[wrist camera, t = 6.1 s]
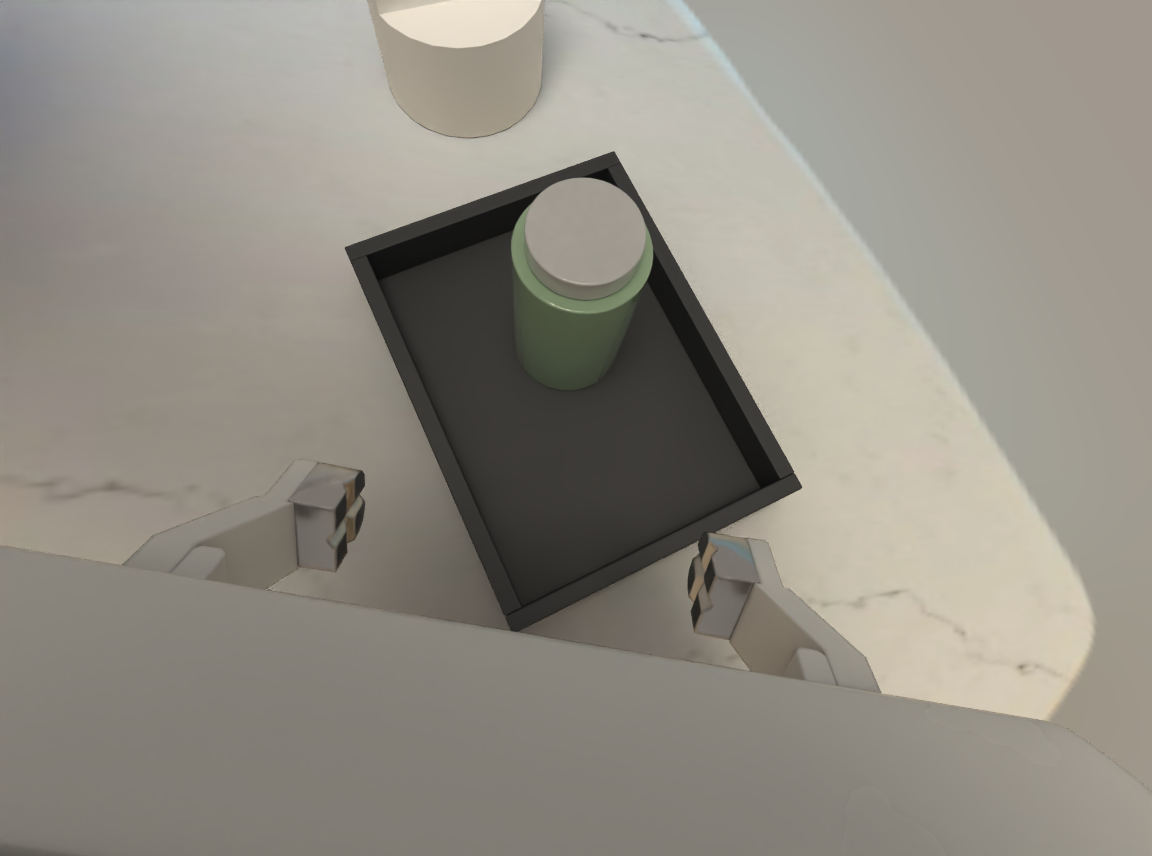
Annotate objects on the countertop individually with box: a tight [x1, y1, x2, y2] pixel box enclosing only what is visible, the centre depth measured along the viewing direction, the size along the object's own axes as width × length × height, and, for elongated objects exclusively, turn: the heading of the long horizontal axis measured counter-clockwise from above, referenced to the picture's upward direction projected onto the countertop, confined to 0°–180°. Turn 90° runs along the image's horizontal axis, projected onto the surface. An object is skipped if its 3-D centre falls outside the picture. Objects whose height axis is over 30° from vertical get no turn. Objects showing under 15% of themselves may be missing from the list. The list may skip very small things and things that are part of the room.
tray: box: [345, 151, 802, 632], centre depth 30 cm, size 20×15×3 cm
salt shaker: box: [511, 178, 653, 390], centre depth 27 cm, size 5×5×10 cm
